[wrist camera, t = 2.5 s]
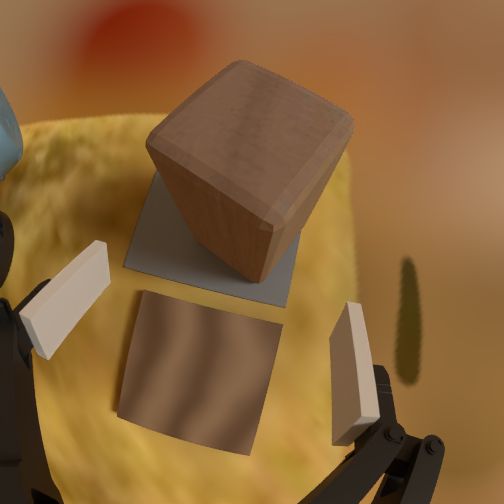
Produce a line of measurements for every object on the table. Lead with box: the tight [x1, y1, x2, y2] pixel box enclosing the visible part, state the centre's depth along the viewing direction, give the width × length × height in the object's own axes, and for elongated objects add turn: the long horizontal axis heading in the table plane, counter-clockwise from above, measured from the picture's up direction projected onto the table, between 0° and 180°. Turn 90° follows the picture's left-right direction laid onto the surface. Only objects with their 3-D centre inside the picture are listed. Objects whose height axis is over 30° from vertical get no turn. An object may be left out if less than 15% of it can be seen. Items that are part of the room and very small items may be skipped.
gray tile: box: [123, 170, 301, 308], centre depth 36 cm, size 20×20×1 cm
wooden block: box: [146, 60, 354, 284], centre depth 26 cm, size 10×10×20 cm
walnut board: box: [117, 290, 283, 456], centre depth 30 cm, size 16×16×2 cm
